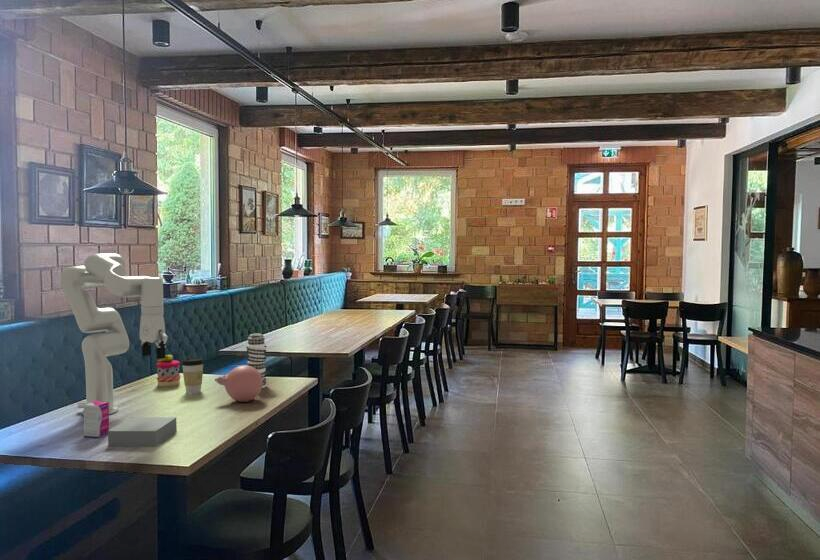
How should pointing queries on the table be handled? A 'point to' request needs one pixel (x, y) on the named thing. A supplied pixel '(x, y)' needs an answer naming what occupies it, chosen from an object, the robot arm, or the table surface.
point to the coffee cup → (193, 374)
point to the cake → (168, 372)
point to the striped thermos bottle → (257, 354)
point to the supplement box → (96, 419)
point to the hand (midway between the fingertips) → (153, 356)
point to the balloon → (242, 383)
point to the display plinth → (142, 431)
